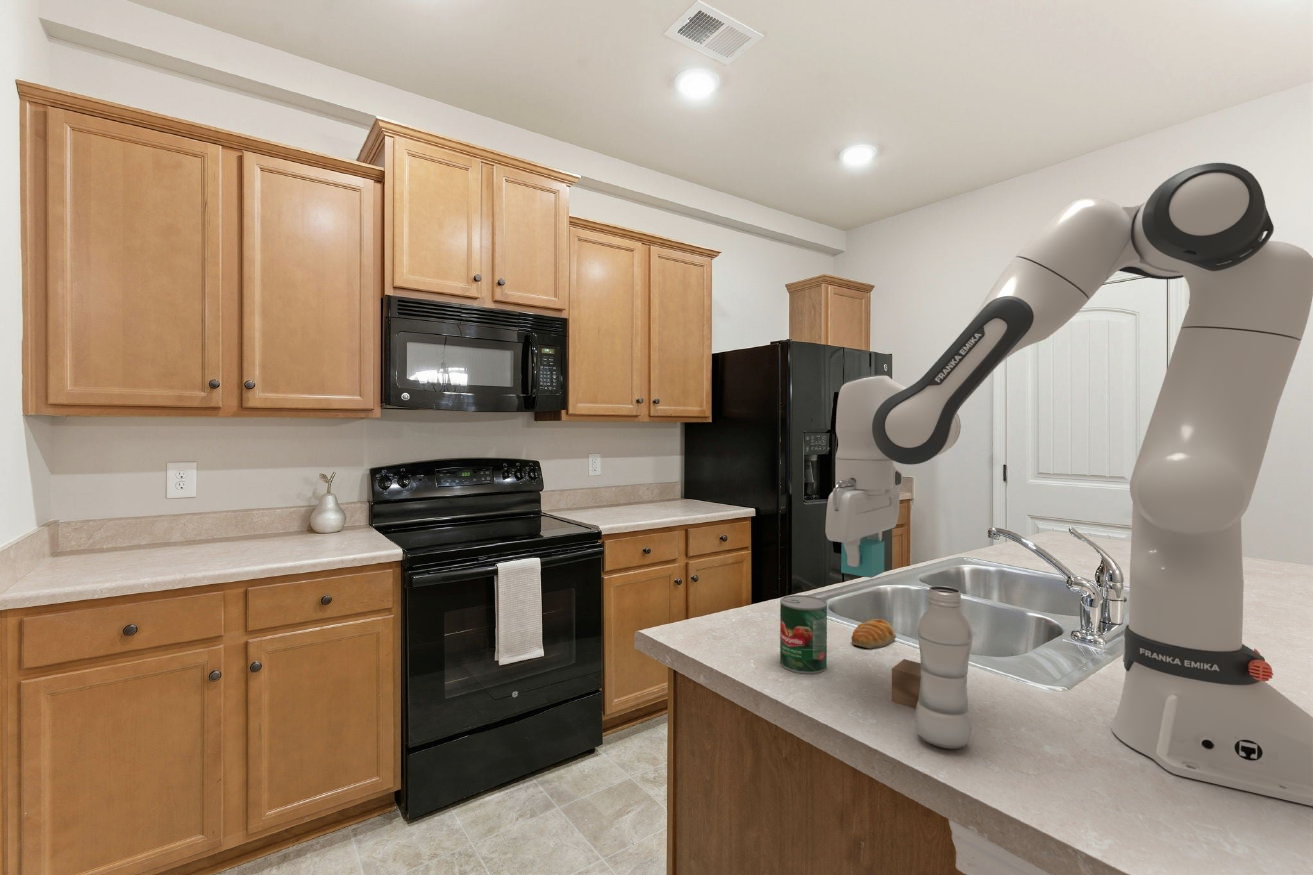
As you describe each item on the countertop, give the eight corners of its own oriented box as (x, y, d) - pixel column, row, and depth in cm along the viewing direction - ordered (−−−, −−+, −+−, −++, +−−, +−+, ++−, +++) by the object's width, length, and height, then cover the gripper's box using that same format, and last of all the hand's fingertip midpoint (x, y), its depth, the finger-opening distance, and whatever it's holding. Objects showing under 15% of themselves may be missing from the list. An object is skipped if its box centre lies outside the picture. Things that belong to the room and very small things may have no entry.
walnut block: (937, 700, 91) (937, 667, 91) (926, 712, 88) (926, 677, 88) (903, 690, 95) (903, 658, 95) (891, 701, 91) (891, 668, 91)
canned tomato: (830, 660, 107) (831, 598, 106) (822, 677, 100) (823, 610, 99) (785, 653, 110) (785, 592, 110) (774, 669, 103) (775, 604, 103)
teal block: (884, 572, 99) (884, 541, 99) (871, 577, 95) (871, 545, 95) (854, 567, 102) (854, 537, 102) (841, 572, 98) (841, 541, 98)
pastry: (876, 654, 110) (876, 633, 110) (841, 645, 115) (841, 625, 115) (898, 641, 117) (898, 621, 117) (864, 633, 122) (864, 614, 122)
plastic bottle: (922, 724, 84) (924, 580, 83) (976, 741, 80) (979, 588, 79) (907, 743, 79) (909, 590, 78) (964, 762, 75) (967, 599, 74)
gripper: (855, 482, 88) (854, 577, 89) (906, 474, 103) (905, 555, 104) (815, 479, 92) (814, 570, 93) (870, 472, 108) (869, 550, 108)
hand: (863, 562), depth 98 cm, fingers closed on teal block, 5 cm apart
